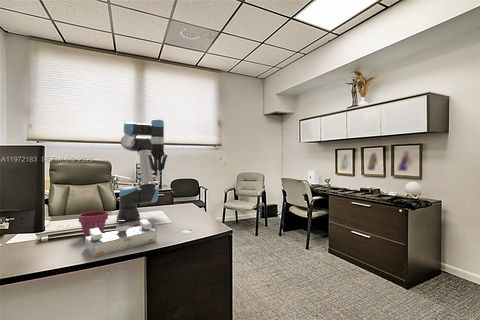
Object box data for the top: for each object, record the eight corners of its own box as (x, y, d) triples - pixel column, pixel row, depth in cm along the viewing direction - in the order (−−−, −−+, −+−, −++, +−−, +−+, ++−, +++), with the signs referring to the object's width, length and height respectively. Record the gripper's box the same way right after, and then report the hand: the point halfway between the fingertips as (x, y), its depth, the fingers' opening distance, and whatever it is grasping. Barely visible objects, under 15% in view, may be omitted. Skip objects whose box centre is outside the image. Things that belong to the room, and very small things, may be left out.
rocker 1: (89, 233, 114) (89, 228, 114) (97, 231, 117) (98, 227, 117) (93, 240, 109) (93, 235, 109) (102, 238, 111) (102, 234, 111)
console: (85, 248, 116) (85, 234, 116) (145, 234, 137) (145, 222, 137) (92, 258, 105) (92, 241, 105) (156, 241, 126) (156, 228, 126)
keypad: (124, 227, 141) (142, 220, 155) (124, 233, 141) (142, 226, 155) (136, 228, 138) (154, 222, 152) (136, 235, 138) (154, 227, 152)
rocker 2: (116, 231, 123) (116, 227, 123) (123, 230, 125) (123, 225, 125) (121, 231, 117) (120, 226, 117) (128, 229, 119) (128, 224, 120)
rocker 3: (139, 223, 131) (139, 219, 131) (145, 222, 134) (146, 218, 133) (144, 229, 126) (145, 225, 125) (151, 228, 128) (151, 224, 128)
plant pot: (106, 230, 146) (106, 209, 145) (109, 236, 134) (109, 214, 134) (78, 234, 137) (78, 212, 137) (79, 241, 126) (79, 217, 126)
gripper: (150, 143, 142) (150, 181, 143) (169, 144, 151) (169, 180, 152) (145, 143, 148) (145, 181, 148) (164, 144, 157) (164, 179, 157)
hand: (157, 180), depth 150 cm, fingers closed
